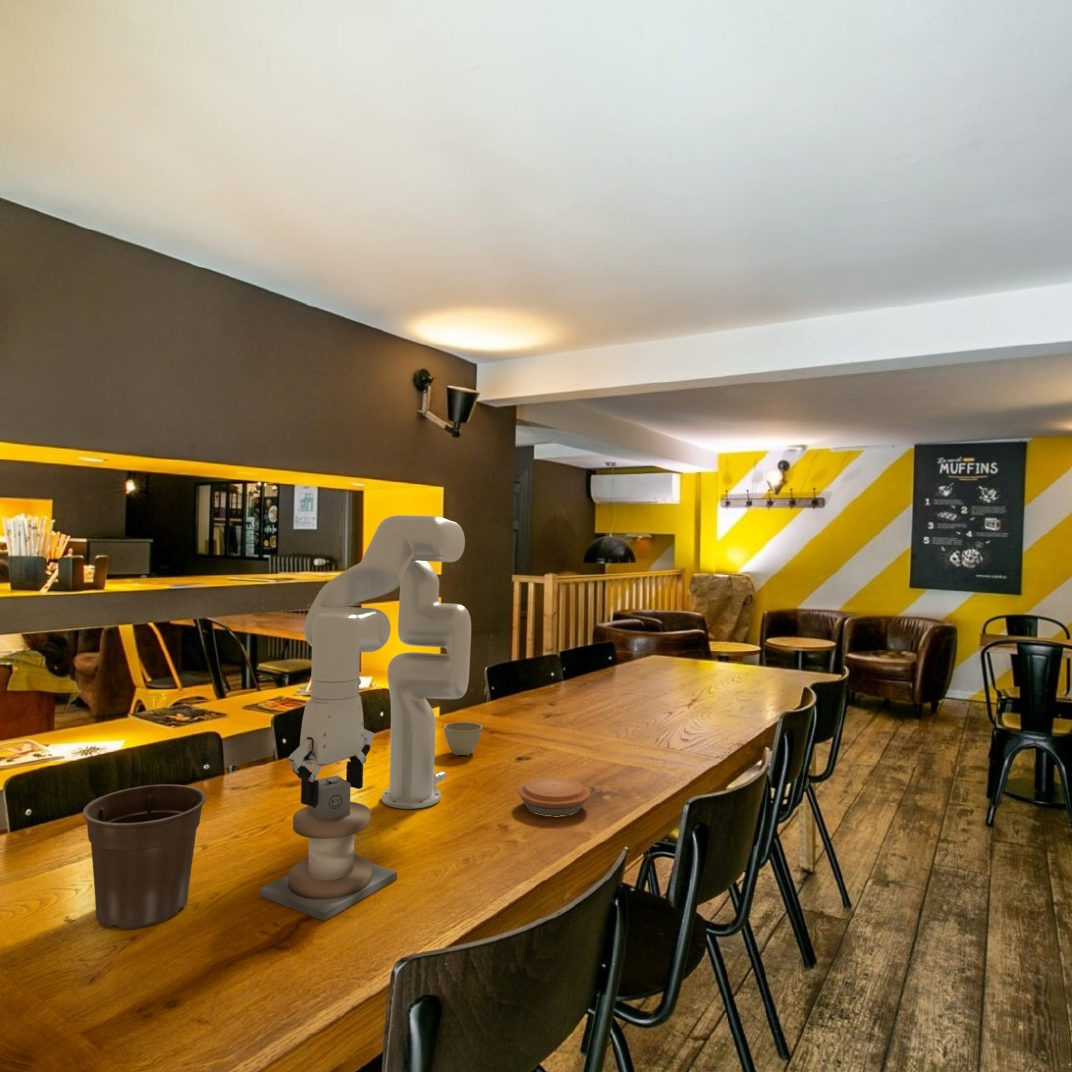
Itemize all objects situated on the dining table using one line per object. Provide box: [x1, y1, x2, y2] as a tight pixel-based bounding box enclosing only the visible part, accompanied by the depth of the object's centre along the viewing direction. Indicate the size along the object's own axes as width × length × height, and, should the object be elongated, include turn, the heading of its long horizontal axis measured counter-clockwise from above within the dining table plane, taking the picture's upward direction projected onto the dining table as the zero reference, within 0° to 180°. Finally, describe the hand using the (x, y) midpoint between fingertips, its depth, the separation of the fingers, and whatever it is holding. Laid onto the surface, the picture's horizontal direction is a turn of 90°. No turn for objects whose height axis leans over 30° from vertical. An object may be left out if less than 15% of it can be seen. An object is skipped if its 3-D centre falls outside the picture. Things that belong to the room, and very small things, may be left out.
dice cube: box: [307, 774, 352, 821], centre depth 118 cm, size 5×5×5 cm
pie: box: [517, 776, 591, 816], centre depth 155 cm, size 15×16×5 cm
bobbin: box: [259, 801, 398, 922], centre depth 117 cm, size 16×14×12 cm
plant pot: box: [82, 784, 207, 930], centre depth 109 cm, size 16×16×16 cm
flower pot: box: [443, 721, 483, 756], centre depth 193 cm, size 10×10×7 cm
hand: (332, 795), depth 118 cm, fingers open, 9 cm apart
